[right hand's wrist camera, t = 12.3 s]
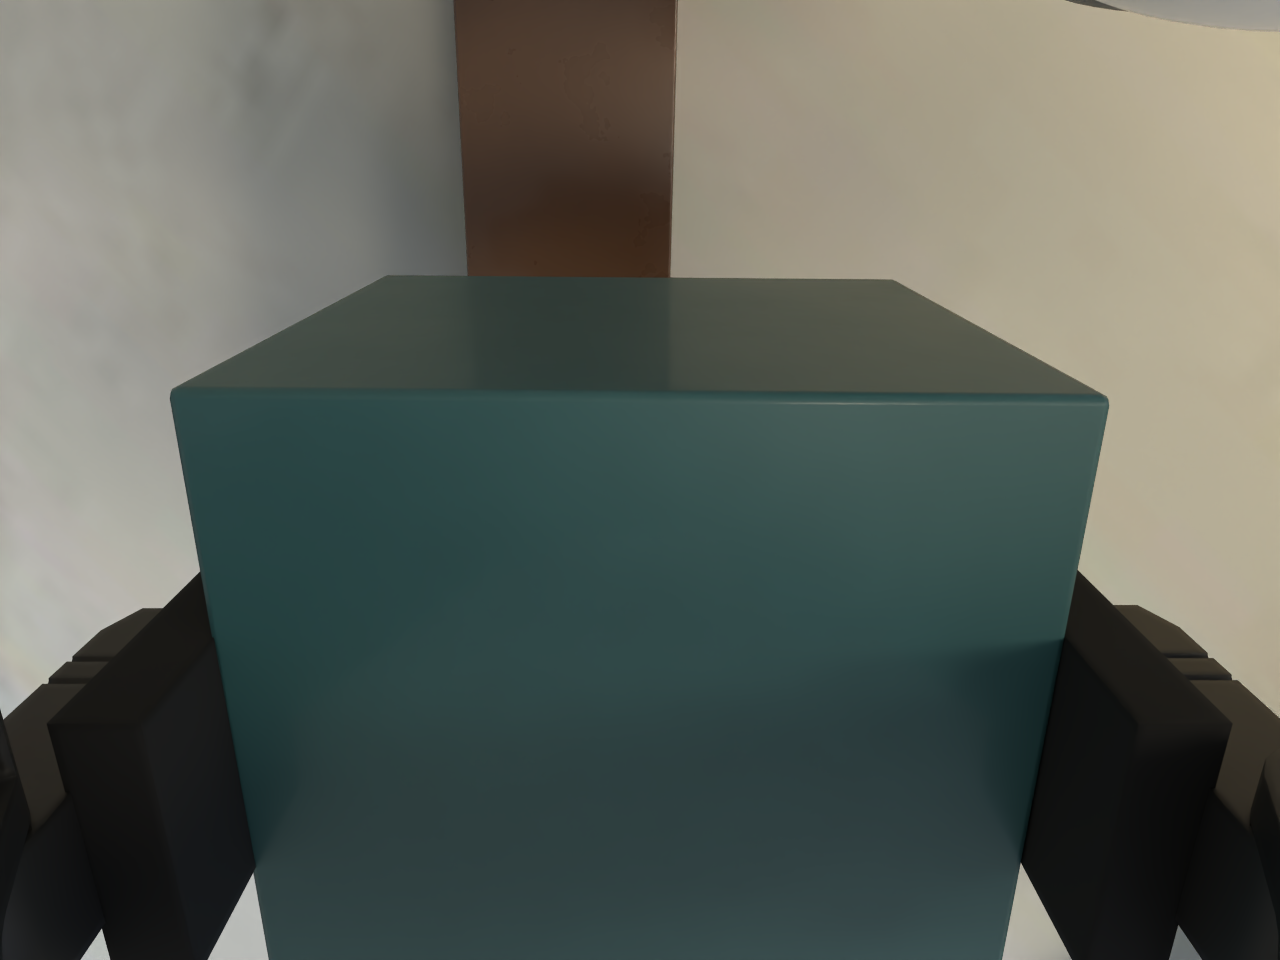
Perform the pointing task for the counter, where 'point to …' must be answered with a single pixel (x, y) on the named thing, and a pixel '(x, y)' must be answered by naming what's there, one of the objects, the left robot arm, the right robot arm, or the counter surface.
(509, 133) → the plank
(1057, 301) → the counter surface
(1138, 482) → the counter surface
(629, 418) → the cap block
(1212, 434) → the counter surface
